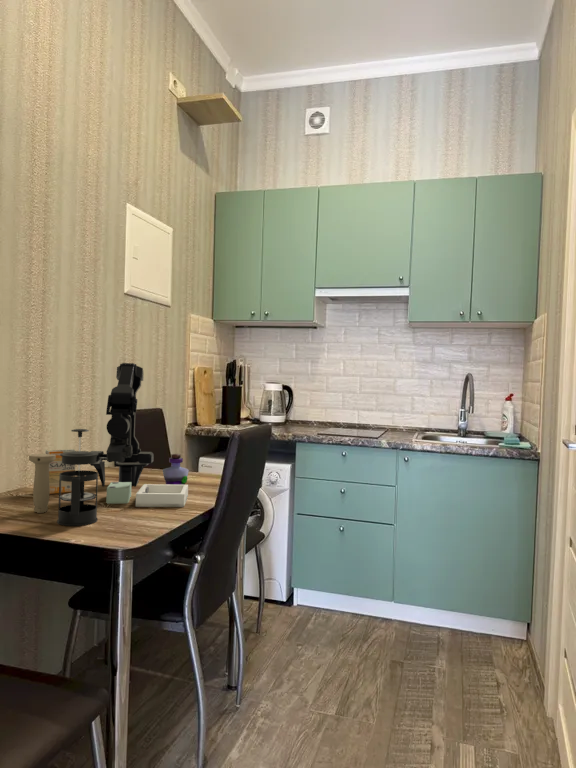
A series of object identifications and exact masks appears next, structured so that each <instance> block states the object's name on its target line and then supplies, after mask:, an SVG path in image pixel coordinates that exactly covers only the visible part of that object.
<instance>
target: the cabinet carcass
mask: <svg viewBox="0 0 576 768" xmlns="http://www.w3.org/2000/svg"><path fill="white" fill-rule="evenodd" d="M187 497H189V484H185V485H170V484H166V483H165V484H160V483H159V484H155V483H154V484H153V483H152V484H151V483H148V484H147V483H144V484H143V485H142V486H141V487H140V489H138V490H137V492H136V493H135V507H138V508H140V507H141V508H160V507H161V508H162V507H163V508H174V507H175V508H184V507H185V505H186V503H187V500H188V498H187Z"/></svg>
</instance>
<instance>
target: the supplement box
mask: <svg viewBox="0 0 576 768" xmlns="http://www.w3.org/2000/svg"><path fill="white" fill-rule="evenodd" d="M73 451H76V450H75V449H45V454H53V455H56V458H55V460H54V461H53V462H51V463H50V464H49V486H50V489H49V490H50V494H49V495H51V494H59V476H60V473H62V472H67V471H76V465H68V464H63V463H62V456H60V454H61V453H66V452H73ZM71 485H72V482H66V481H61V494H67V493H71Z"/></svg>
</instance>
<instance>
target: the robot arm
mask: <svg viewBox="0 0 576 768" xmlns="http://www.w3.org/2000/svg"><path fill="white" fill-rule="evenodd" d="M115 375H116V376H115V377H116V379H117V385H116V386H115V387H113V388H112V389H111V392H110V394H108V396H107V404H106V413H105V415H108V416H109V415H111V418H110V419H109V420H108V421H107V424H106V431H107V433H108V434H109V435H110V439H109V441H110V442H109V446H108V447H107V449H106V453H104V451H103V450H91V451H90V452H96V453H98V456H97V457H96V463H93V464H89V465H90V466H93V467H94V469H96V472H98V477H99V480H100V483H101V487H105V485H106V467H105V465H106V464H105V463H106V462H108V463H112V462H113V463H114V464H113V467H114V468H116V467H118V482H132V486H134V487H135V488H136V487H137V486H138V484H139V481H140V477H141V475H142V472H143V470H144V468H145V467H147V466H148V465H149V464H152V463H153V462H154V457H155V456H154V453H153V452H152V451H142V449H141V448H140V443H139V441H138V438H136V436H135V435H136V413H137V410H138V399H137V393H138V391H139V390H140V388H141V387H142V382H143V381H144V368H143V367H141V366H139V365H137V363H133V362H132V363H131V362H122V363H120V364H119V365H118V366H116V374H115ZM105 461H106V462H105Z"/></svg>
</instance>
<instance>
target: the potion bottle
mask: <svg viewBox="0 0 576 768" xmlns="http://www.w3.org/2000/svg"><path fill="white" fill-rule="evenodd" d="M181 455H182V454H181V453H173V454H171V457H168V458H169V459H168V462H169V463H171V465H170V466H169V467H166V468H163V469H162V473H163V479H164V481H165V484H170V485H186V484H187V482H188V475H189V471H190V470H189V469H188V468H187V467H181V464H182V463H183V461H184V459H183V457H181Z"/></svg>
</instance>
